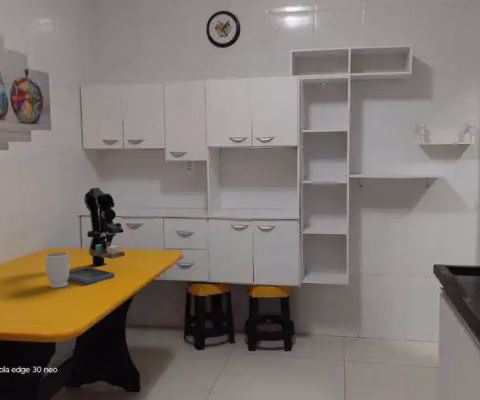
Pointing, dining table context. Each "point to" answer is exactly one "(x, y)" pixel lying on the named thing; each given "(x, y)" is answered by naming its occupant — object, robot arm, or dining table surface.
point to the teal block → (99, 248)
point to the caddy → (106, 252)
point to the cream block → (112, 250)
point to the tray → (89, 275)
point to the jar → (57, 269)
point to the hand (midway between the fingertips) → (106, 248)
